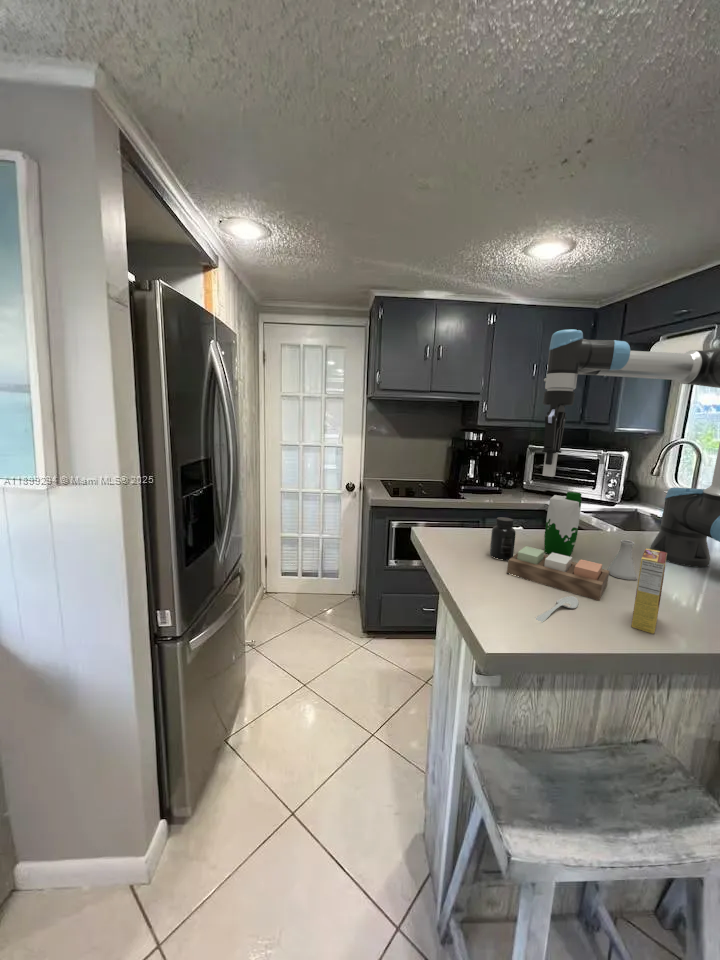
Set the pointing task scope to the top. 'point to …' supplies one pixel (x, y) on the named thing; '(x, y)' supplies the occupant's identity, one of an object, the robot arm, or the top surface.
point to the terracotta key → (588, 569)
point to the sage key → (531, 555)
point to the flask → (623, 562)
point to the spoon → (569, 600)
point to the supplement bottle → (503, 539)
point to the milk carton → (562, 523)
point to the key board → (559, 577)
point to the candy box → (649, 590)
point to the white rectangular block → (558, 562)
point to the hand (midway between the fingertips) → (548, 475)
